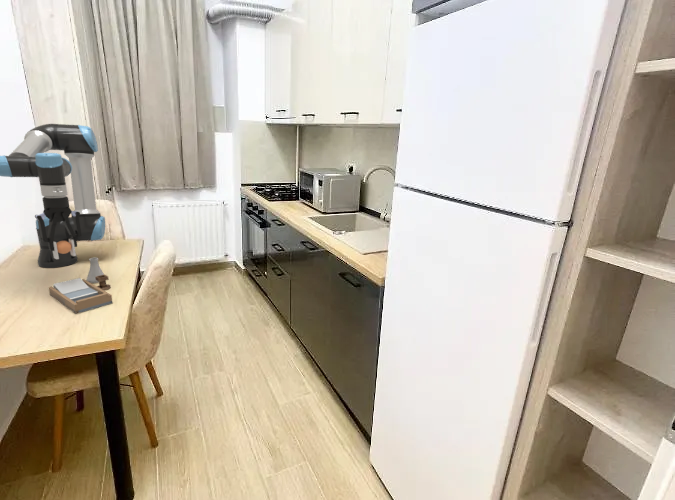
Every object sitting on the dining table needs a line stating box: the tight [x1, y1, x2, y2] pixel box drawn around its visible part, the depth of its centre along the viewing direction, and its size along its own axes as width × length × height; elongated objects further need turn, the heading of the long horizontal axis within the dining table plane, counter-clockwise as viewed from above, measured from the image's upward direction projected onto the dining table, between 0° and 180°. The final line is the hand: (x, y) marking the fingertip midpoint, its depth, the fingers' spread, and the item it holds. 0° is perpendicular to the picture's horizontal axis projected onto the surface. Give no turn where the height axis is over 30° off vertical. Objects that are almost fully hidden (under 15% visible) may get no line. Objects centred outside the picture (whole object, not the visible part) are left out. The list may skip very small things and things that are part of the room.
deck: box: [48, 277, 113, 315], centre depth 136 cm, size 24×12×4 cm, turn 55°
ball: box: [57, 241, 72, 254], centre depth 137 cm, size 5×5×5 cm
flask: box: [85, 257, 105, 284], centre depth 154 cm, size 7×7×10 cm
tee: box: [95, 274, 111, 291], centre depth 147 cm, size 5×5×5 cm
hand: (65, 256), depth 138 cm, fingers closed on ball, 5 cm apart
